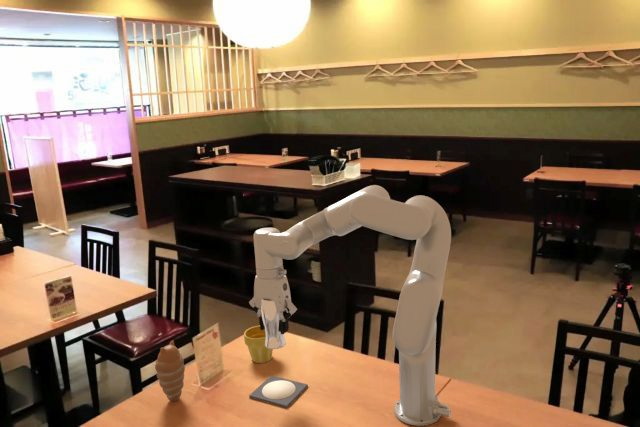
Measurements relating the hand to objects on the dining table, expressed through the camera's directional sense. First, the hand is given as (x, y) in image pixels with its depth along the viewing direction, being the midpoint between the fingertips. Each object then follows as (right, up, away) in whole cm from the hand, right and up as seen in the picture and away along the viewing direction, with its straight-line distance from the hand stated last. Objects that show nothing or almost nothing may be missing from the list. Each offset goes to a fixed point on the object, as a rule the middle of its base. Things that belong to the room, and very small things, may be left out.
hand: (274, 329), depth 153 cm
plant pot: (-6, -15, +25) cm, 30 cm away
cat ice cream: (-30, -22, +4) cm, 37 cm away
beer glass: (0, -5, +1) cm, 5 cm away
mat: (+1, -20, +5) cm, 20 cm away
